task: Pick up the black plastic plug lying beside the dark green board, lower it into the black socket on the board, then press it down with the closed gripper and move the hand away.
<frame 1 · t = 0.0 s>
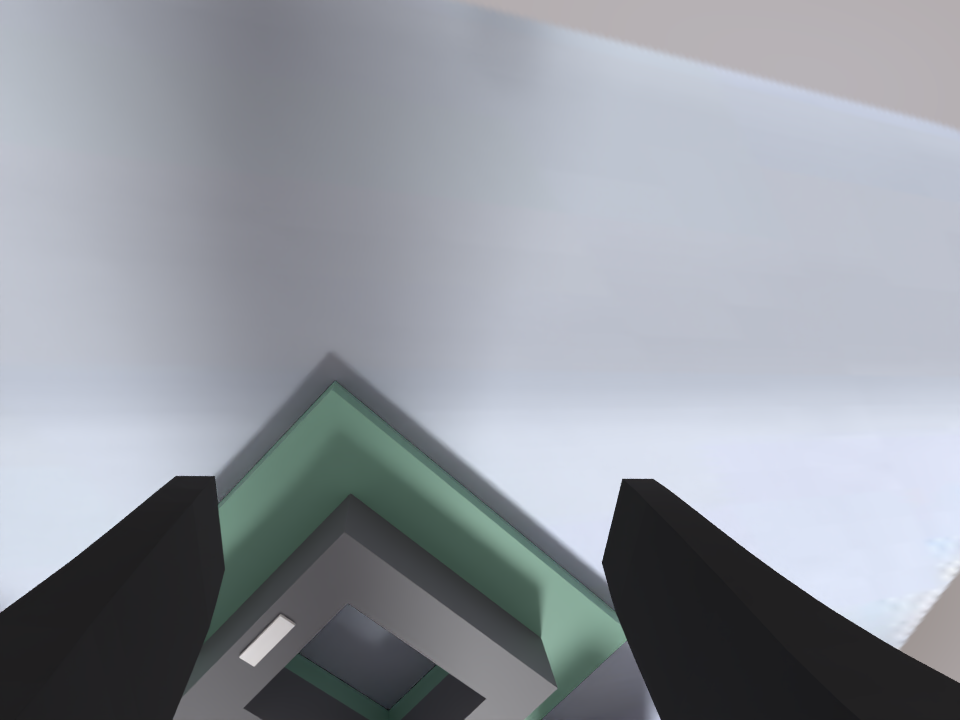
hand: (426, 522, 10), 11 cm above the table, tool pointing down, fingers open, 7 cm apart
board: (372, 630, 23), on the table
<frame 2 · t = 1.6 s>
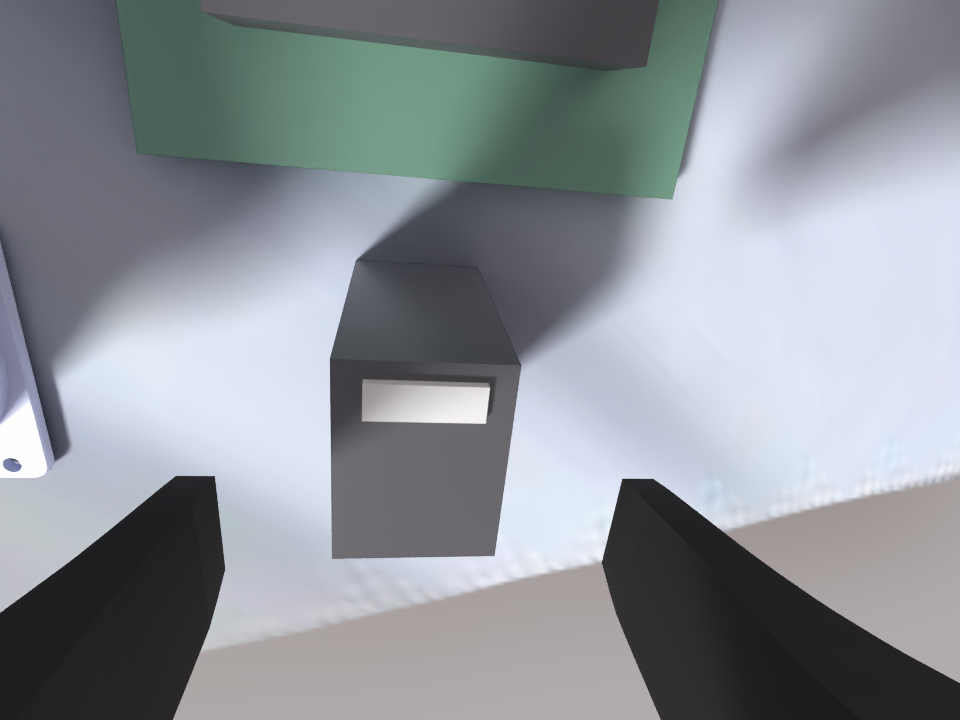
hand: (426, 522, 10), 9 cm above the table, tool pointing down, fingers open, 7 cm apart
plug: (413, 337, 18), on the table
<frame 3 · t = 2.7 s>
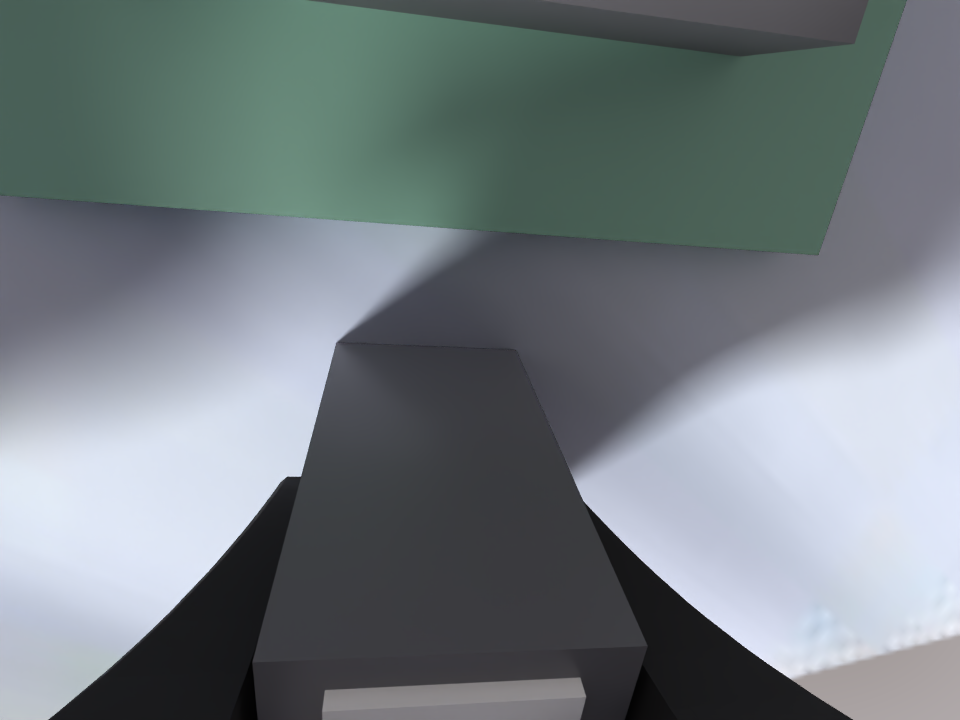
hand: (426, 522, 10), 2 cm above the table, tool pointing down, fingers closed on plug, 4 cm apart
plug: (421, 447, 12), on the table, touching gripper
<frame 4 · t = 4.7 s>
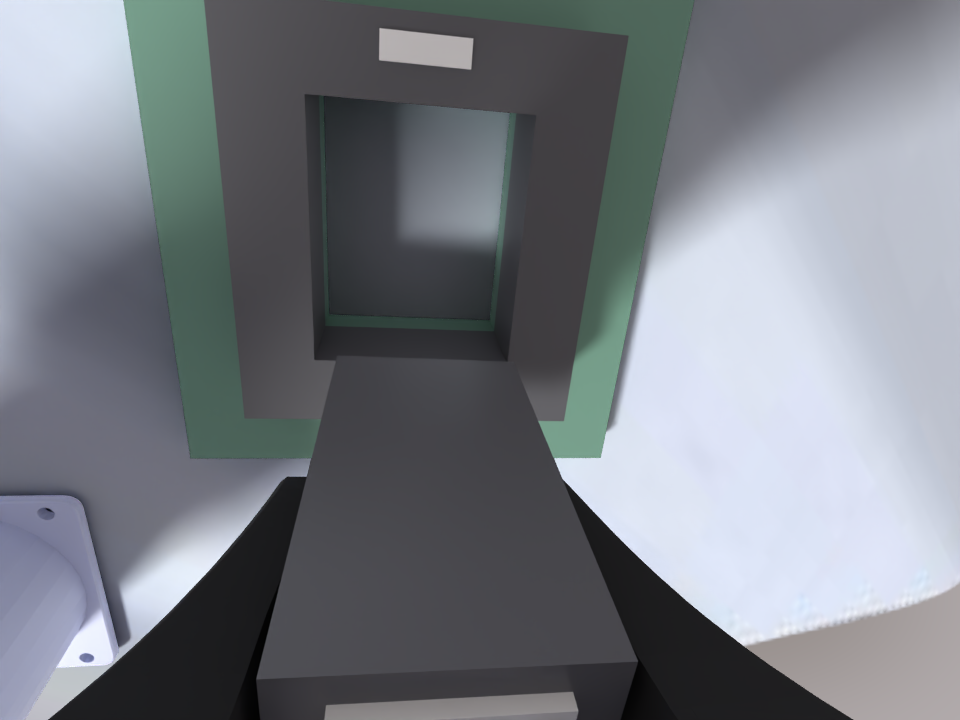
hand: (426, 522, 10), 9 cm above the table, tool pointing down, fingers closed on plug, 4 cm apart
plug: (421, 457, 13), point 7 cm above the table, touching gripper
board: (414, 218, 17), on the table
when the fingers open (4 cm above the table, at t = 6.5 s): plug drops 2 cm, resting in board.
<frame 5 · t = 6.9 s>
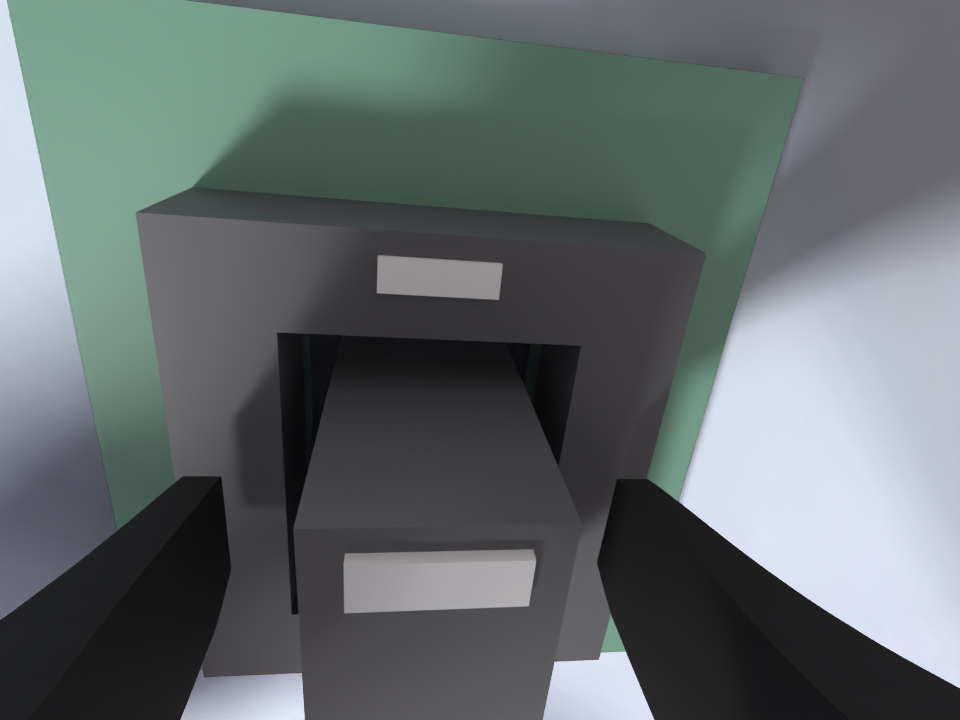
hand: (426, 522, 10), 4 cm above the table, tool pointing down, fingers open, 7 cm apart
plug: (419, 412, 14), resting in board
board: (419, 403, 14), on the table
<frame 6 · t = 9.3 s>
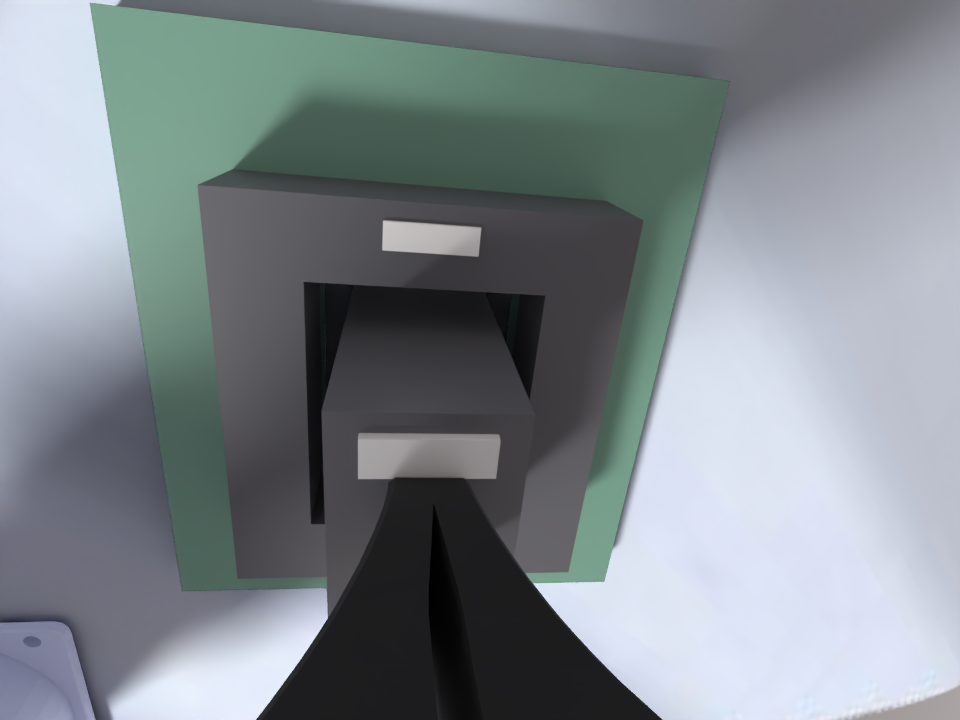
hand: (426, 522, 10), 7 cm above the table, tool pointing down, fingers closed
plug: (416, 364, 17), resting in board
board: (416, 356, 17), on the table
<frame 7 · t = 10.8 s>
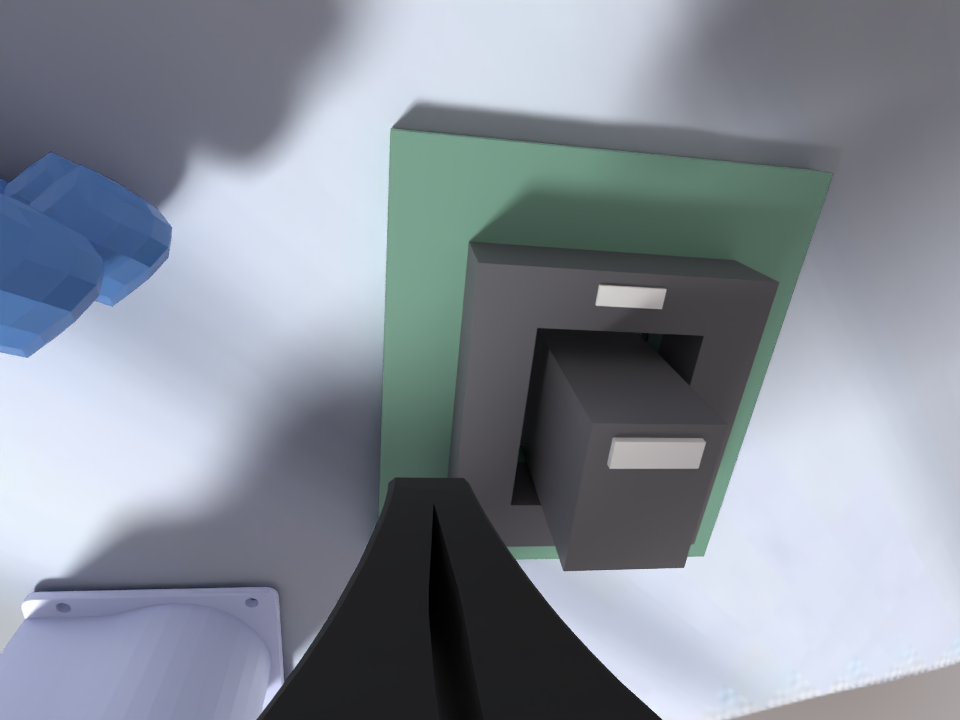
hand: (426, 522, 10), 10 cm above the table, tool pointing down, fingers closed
plug: (571, 382, 22), resting in board
grapes: (17, 233, 17), on the table
board: (572, 376, 21), on the table
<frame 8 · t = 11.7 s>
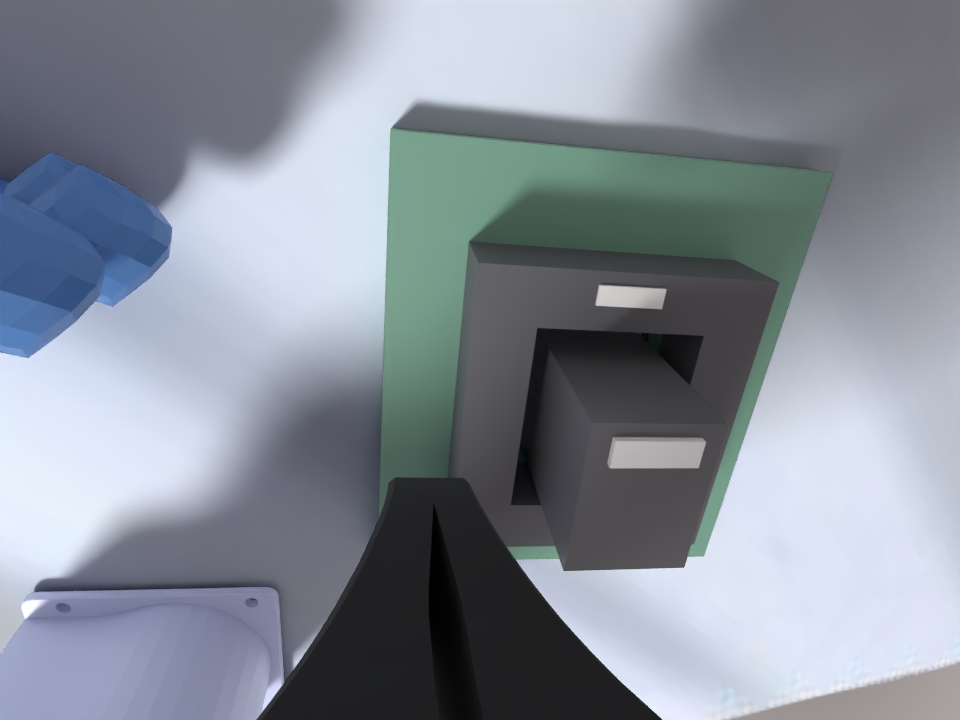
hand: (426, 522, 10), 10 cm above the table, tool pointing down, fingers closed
plug: (571, 382, 22), resting in board
grapes: (17, 233, 17), on the table
board: (572, 376, 21), on the table
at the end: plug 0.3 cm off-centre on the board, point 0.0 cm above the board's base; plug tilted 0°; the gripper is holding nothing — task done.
